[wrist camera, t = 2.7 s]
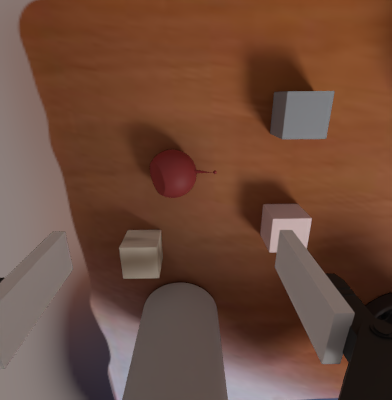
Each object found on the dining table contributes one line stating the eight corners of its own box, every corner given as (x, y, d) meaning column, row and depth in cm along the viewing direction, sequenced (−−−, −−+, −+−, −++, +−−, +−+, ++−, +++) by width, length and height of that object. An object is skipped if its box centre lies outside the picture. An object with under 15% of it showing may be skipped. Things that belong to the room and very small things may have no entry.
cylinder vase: (228, 292, 43) (270, 517, 20) (200, 343, 48) (208, 577, 24) (157, 270, 42) (114, 489, 18) (134, 325, 46) (76, 559, 23)
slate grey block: (307, 133, 34) (326, 138, 29) (269, 133, 34) (282, 139, 29) (314, 91, 32) (334, 91, 28) (273, 92, 32) (287, 91, 28)
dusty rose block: (292, 233, 40) (306, 251, 35) (260, 234, 40) (269, 252, 35) (297, 203, 38) (312, 218, 33) (262, 203, 38) (272, 218, 33)
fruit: (188, 183, 38) (220, 196, 32) (153, 195, 36) (179, 212, 29) (181, 142, 36) (214, 147, 30) (143, 152, 34) (169, 159, 27)
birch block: (162, 257, 41) (159, 278, 36) (131, 258, 41) (123, 278, 36) (161, 229, 39) (156, 247, 34) (127, 229, 39) (119, 247, 34)
